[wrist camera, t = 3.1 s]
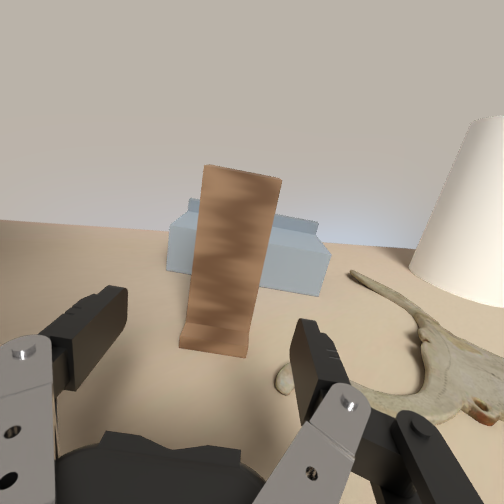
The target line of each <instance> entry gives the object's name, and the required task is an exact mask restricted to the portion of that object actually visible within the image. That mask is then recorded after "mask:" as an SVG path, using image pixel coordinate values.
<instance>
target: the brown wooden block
mask: <svg viewBox="0 0 504 504" xmlns="http://www.w3.org/2000/svg"><path fill="white" fill-rule="evenodd" d="M281 184H282V180H281V179H279V178H276V177H271V176H266V175H261V174H256V173H251V172H245V171H240V170H235V169H230V168H225V167H220V166H215V165H204V171H203V180H202V188H201V197H200V205H199V214H198V222H197V231H196V240H195V248H194V257H193V265H192V274H191V283H190V291H189V300H188V308H187V317H186V323H185V325H184V328H183V330H182V333H181V335H180V342H179V348H184V349H190V350H196V351H203V352H209V353H215V354H222V355H228V356H235V357H241V358H246V355H247V350H248V341H249V329H250V325H251V320H252V316H253V311H254V307H255V302H256V297H257V293H258V288H259V284H260V279H261V275H262V270H263V266H264V261H265V257H266V252H267V248H268V243H269V238H270V234H271V229H272V225H273V220H274V216H275V211H276V206H277V202H278V198H279V193H280V188H281Z"/></svg>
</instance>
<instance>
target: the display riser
mask: <svg viewBox="0 0 504 504" xmlns="http://www.w3.org/2000/svg"><path fill="white" fill-rule="evenodd" d="M199 205H200V200H198V199H193V198H190V199H189V205H188V211H187V212H186V213H185V214H183V215H182V216H181V217H180V218H178V219H177V220H176V221H174V222H173V223H172V224H171V225H170V229H169V241H168V254H167V267H166V270H168V271H173V272H179V273H185V274H192V265H193V257H194V248H195V240H196V231H197V222H198V214H199ZM318 225H319V224H318V222H315V221H310V220H304V219H299V218H294V217H288V216H283V215H278V214H275V216H274V220H273V225H272V229H271V234H270V238H269V243H268V248H267V252H266V257H265V261H264V266H263V270H262V275H261V279H260V284H259V286H260V287H266V288H271V289H277V290H283V291H289V292H295V293H300V294H306V295H312V296H319V293H320V290H321V286H322V283H323V280H324V277H325V274H326V271H327V267H328V264H329V261H330V258H331V253H330V252H329V251H328V250H327V248H326V247H325V246H324V245H323V243H322V242H321V241H320V240H319V239H318V237H317V236H316V232H317V228H318Z"/></svg>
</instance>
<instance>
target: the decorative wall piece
mask: <svg viewBox="0 0 504 504" xmlns="http://www.w3.org/2000/svg"><path fill="white" fill-rule="evenodd" d="M350 274H351V275H352V276H353V277H355V278H356V279H357V280H358V281H360V282H361V283H363V284H364V285H365V286H367V287H368V288H370V289H371V290H373V291H375V292H376V293H378V294H380V295H382V296H384V297H386V298H387V299H389V300H391V301H393V302H394V303H396V304H398V305H399V306H401V307H402V308H404V309H405V310H406V311H407V312H408V313H409V314H411V315H412V316H413V317H414V319H415V321H416V322H417V324H418V325H419V328H420V329H418V335H419V338H420V340H421V341H422V342H423V343H422V344H421V355H422V359H423V362H424V366H425V379H424V384H423V386H422V388H421V389H420V391H419V392H418V393H417V394H411V395H391V394H387V393H382V392H378V391H375V390H372V389H369V388H367V387H364V386H362V385H360V384H357V383H355V382H353V381H351V380H349V381H350V383H351V386H353V387H355V388H356V389H358V390H359V391H360V392H362V393H363V395H364V396H365V397H366V398H367V400H368V401H369V403H370V406H371V407H372V408H374V409H376V410H378V411H380V412H382V413H385V414H387V415H389V416H392V417H394V418H395V417H396V415H397V414H398V412H399V411H401V410H410V411H413V412H416V413H418V414H420V415H421V416H423V417H425V418H426V419H427V420H429V421H430V422H431V423H432V424H433V425H438V424H442V423H444V422H446V421H448V420H450V419H452V418H453V417H454V416H455V415H456V414H457V413H458V412H459V411H460V410H462V411H464V412H465V413H466V414H468V415H469V416H471V417H472V418H474V419H475V420H476V421H478V422H479V423H482V424H484V425H487V426H492V425H494V424H495V423H496V422H497V421H498V420H501V421H504V358H502V357H500V356H498V355H495V354H493V353H491V352H489V351H487V350H485V349H482V348H480V347H478V346H476V345H474V344H472V343H470V342H468V341H467V340H464V339H461V338H459V337H456V336H455V335H453V334H452V333H451V332H449V331H448V330H446V329H444V328H443V327H441V326H440V324H439V323H438V322H437V321H436V320H435V319H433V318H432V317H430V316H429V315H428V314H427V313H425V312H424V311H423V310H422V309H421V308H419V307H418V306H417V305H416V304H414V303H413V302H411V301H410V300H408V299H407V298H405V297H404V296H402V295H401V294H400V293H398V292H396V291H394V290H392V289H390V288H388V287H386V286H384V285H382V284H380V283H378V282H376V281H374V280H372V279H370V278H368V277H366V276H364V275H362V274H360V273H358V272H356V271H354V270H350ZM276 388H277V389H278V390H279V391H280V392H281V393H282V394H284V395H289V394H290V392H291V391H292V390H293V389H294V388H295V386H294V381H293V375H292V369H291V363H288V364H286V365H285V366H284V367H283V368H282V369H281V370H280V372H279V374H278V375H277V377H276Z"/></svg>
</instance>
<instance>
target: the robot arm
mask: <svg viewBox="0 0 504 504" xmlns="http://www.w3.org/2000/svg"><path fill="white" fill-rule="evenodd" d="M127 307H128V290H127V289H126V288H123V287H117V286H111V285H108V286H107V287H105V288H104V289H103V290H102V291H101V292H100V293H98V294H92V295H90V296H87V297H85V298H83V299H81V300H79V301H78V302H77V303H76V304H75V305H73V306H72V308H70V309H68V310H67V311H66V312H65V314H62V315H61V316H60V317H58V318H57V319H56V320H55V321H54V322H52V323H51V324H50V325H49V326H47V327H46V328H45V329H44V330H42V331H41V332H40V333H39V334H37V335H27V336H22V337H19V338H15V339H13V340H11V341H9V342H7V343H5V344H3V345H2V346H1V347H0V504H339V501H340V499H341V496H342V493H343V491H344V488H345V485H346V482H347V480H348V477H349V474H350V472H353V473H355V474H357V475H359V476H361V477H363V478H365V479H367V480H369V481H370V483H371V486H372V490H373V493H374V496H375V500H376V503H377V504H484V503H483V501H482V500H481V498H480V496H479V495H478V493H477V492H476V490H475V488H474V487H473V485H472V483H471V482H470V480H469V479H468V477H467V475H466V474H465V472H464V471H463V469H462V467H461V466H460V464H459V462H458V461H457V459H456V458H455V456H454V454H453V453H452V451H451V450H450V448H449V446H448V445H447V443H446V441H445V440H444V438H443V437H442V435H441V433H440V432H439V431H438V429H437V428H436V427H435V426H434V425H433V424H432V423H431V422H430V421H429V420H427V419H426V418H425V417H423V416H421V415H420V414H418V413H416V412H413V411H410V410H401V411H399V412H398V414H397V415H396V417H395V418H394V417H392V416H389V415H387V414H385V413H382V412H380V411H378V410H376V409H374V408H372V407H371V406H370V403H369V401H368V400H367V398H366V397H365V396H364V395H363V393H362V392H360V391H359V390H358V389H356V388H355V387H353V386H351V383H350V381H349V378H348V376H347V374H346V371H345V369H344V367H343V364H342V362H341V360H340V357H339V355H338V352H337V350H336V348H335V345H334V343H333V341H332V340H331V339H330V338H329V337H328V336H327V335H326V334H325V333H320V331H319V328H318V325H317V323H316V321H313V320H308V319H302V318H299V320H298V322H297V325H296V329H295V332H294V335H293V339H292V342H291V346H290V363H291V369H292V375H293V381H294V386H295V392H296V398H297V404H298V410H299V416H300V422H301V426H302V428H301V429H300V431H299V432H298V434H297V435H296V437H295V439H294V440H293V442H292V443H291V445H290V446H289V448H288V449H287V451H286V452H285V454H284V455H283V457H282V459H281V460H280V462H279V463H278V465H277V466H276V468H275V469H274V471H273V472H272V474H271V475H270V477H269V479H268V480H267V482H266V481H265V480H264V479H263V478H262V477H261V476H260V475H259V474H258V473H256V472H255V471H254V470H253V469H251V468H250V467H248V466H247V465H245V464H243V463H241V462H240V457H241V450H238V449H231V448H224V447H217V446H210V445H207V446H199V447H192V448H185V449H177V450H170V449H168V448H166V447H163V446H161V445H159V444H157V443H155V442H153V441H151V440H148V439H146V438H144V437H142V436H140V435H133V434H125V433H118V432H111V431H106V432H105V434H104V435H103V437H102V439H101V441H100V443H97V444H92V445H88V446H84V447H81V448H78V449H76V450H73V451H71V452H69V453H67V454H65V455H63V456H61V457H60V446H59V427H58V407H57V396H58V395H59V394H60V393H61V392H62V390H69V391H76V390H77V389H78V388H79V386H80V385H81V384H82V383H83V381H84V380H85V379H86V377H87V376H88V375H89V373H90V372H91V371H92V370H93V368H94V367H95V366H96V364H97V363H98V362H99V361H100V359H101V358H102V357H103V355H104V354H105V353H106V351H107V350H108V349H109V348H110V346H111V345H112V344H113V342H114V341H115V340H116V338H117V337H118V336H119V335H120V333H121V332H122V331H123V329H124V327H125V324H126V321H127Z"/></svg>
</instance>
